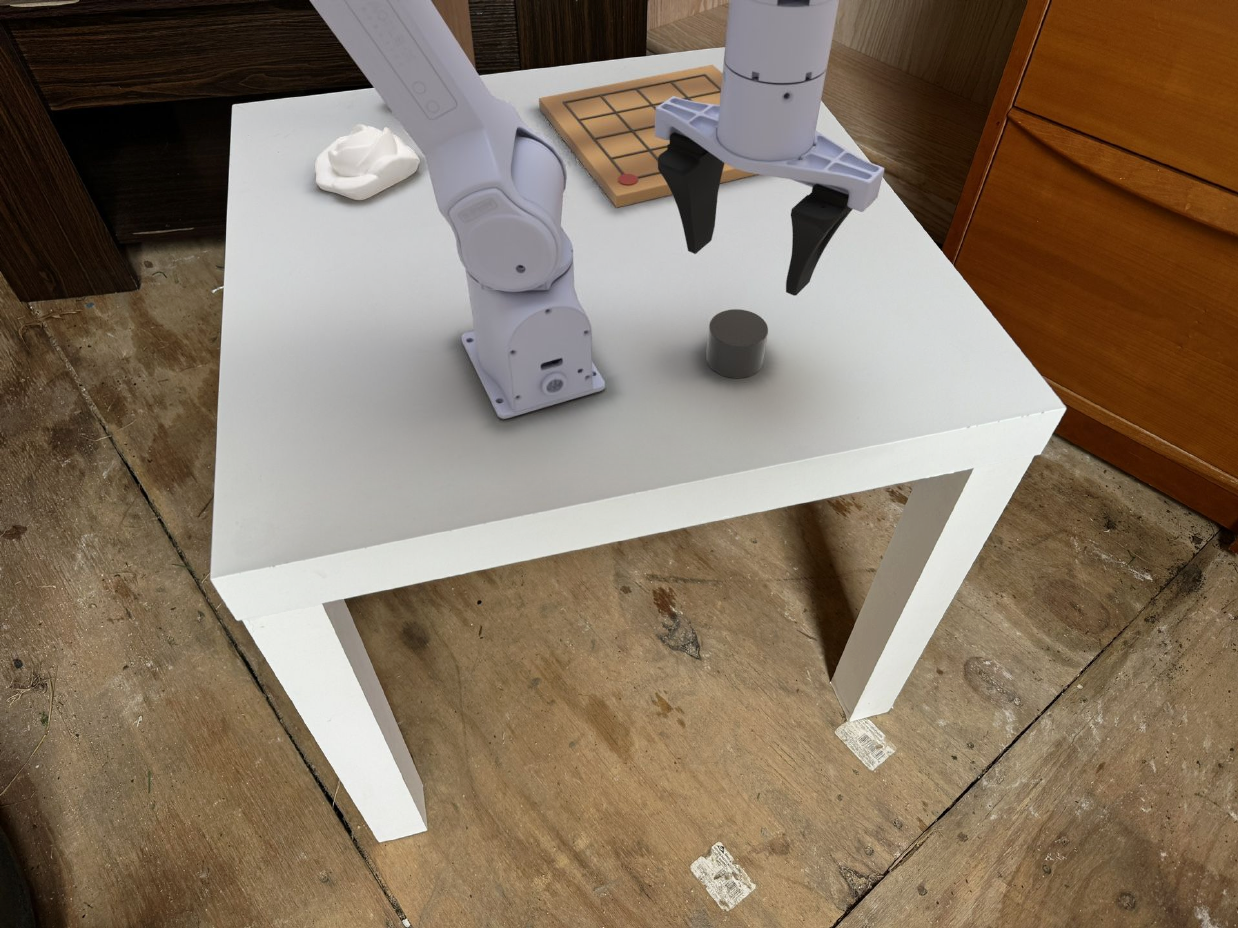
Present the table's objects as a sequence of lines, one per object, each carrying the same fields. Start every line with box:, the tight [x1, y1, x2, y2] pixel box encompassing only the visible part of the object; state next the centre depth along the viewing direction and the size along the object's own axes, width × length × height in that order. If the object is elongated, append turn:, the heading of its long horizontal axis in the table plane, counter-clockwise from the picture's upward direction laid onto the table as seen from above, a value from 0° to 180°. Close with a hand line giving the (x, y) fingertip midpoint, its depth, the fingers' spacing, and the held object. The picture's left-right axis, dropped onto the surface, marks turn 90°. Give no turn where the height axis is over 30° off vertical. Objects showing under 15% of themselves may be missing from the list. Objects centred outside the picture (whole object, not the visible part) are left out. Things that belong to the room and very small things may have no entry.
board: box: [538, 64, 759, 208], centre depth 87 cm, size 20×20×1 cm
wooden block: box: [431, 0, 477, 71], centre depth 84 cm, size 9×4×18 cm, turn 56°
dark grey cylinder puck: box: [705, 308, 769, 379], centre depth 64 cm, size 4×4×3 cm
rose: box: [314, 123, 421, 201], centre depth 80 cm, size 10×4×10 cm
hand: (747, 266), depth 59 cm, fingers open, 7 cm apart
